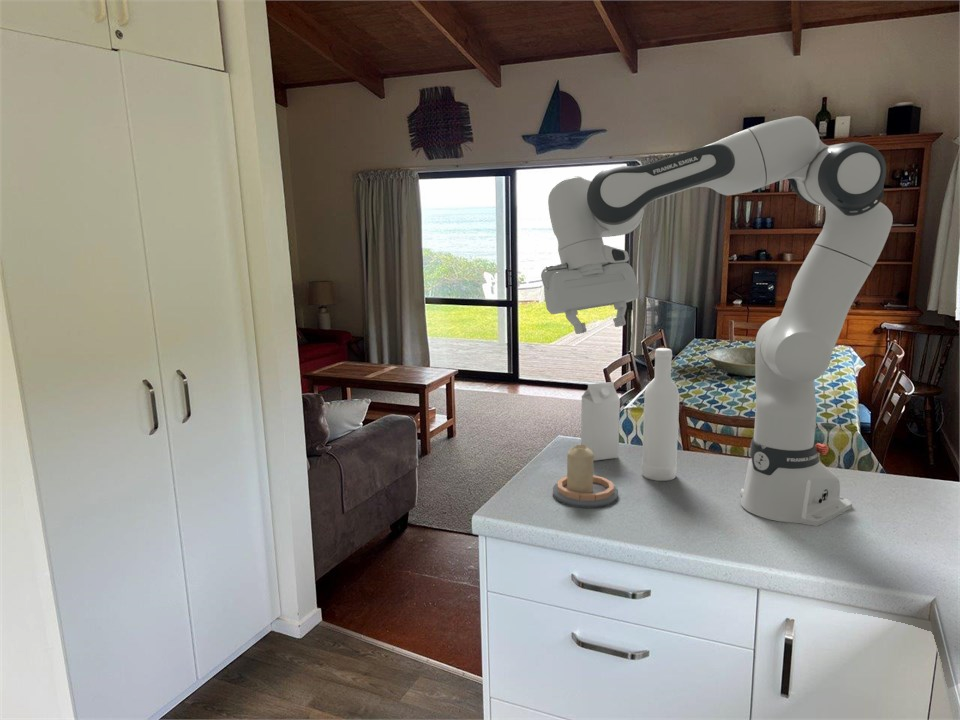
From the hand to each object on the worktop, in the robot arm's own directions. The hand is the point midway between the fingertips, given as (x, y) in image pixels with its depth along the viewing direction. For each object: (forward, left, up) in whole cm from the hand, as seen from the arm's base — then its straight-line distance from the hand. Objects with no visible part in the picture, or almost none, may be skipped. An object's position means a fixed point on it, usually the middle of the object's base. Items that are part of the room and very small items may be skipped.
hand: (601, 329), depth 128 cm
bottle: (-25, -11, -38) cm, 47 cm away
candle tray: (-3, -9, -38) cm, 39 cm away
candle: (-2, -9, -37) cm, 38 cm away
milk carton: (-21, -29, -38) cm, 52 cm away
